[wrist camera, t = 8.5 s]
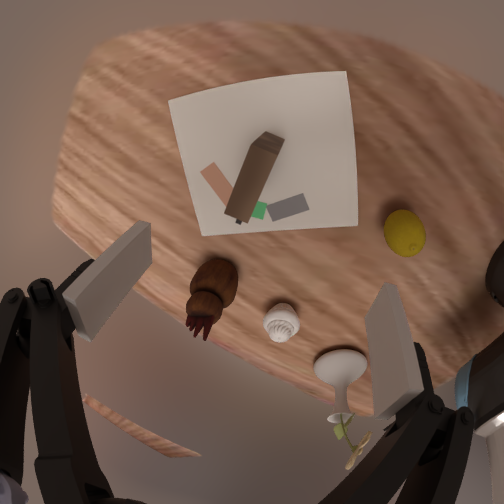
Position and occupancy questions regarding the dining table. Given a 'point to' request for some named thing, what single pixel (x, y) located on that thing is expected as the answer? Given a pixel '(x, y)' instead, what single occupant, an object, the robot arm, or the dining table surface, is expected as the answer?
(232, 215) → the dark wooden block
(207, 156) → the dial board
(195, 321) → the wooden figurine
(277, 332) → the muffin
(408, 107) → the dining table surface
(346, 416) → the flower in vase
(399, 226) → the lemon
